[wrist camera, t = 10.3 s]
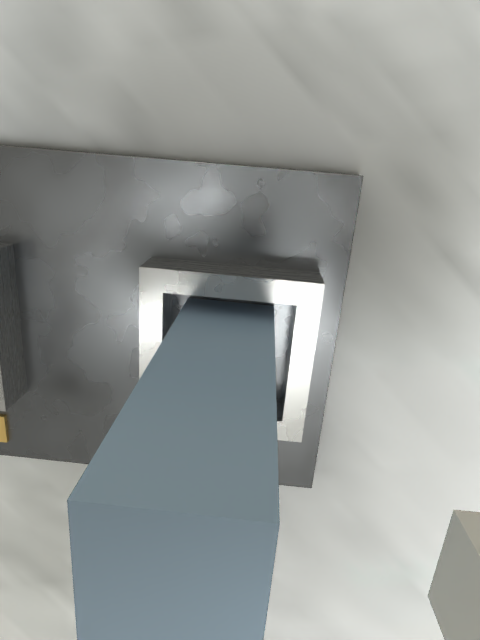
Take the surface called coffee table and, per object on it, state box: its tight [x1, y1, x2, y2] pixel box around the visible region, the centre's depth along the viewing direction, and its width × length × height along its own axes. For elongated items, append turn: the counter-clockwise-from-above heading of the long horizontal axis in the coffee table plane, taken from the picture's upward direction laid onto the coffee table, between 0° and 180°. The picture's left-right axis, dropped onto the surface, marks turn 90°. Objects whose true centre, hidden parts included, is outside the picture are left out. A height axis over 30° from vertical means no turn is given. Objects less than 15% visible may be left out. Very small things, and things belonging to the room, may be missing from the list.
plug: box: [67, 298, 280, 640], centre depth 15 cm, size 4×5×13 cm
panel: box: [0, 145, 363, 488], centre depth 21 cm, size 24×16×3 cm, turn 86°
